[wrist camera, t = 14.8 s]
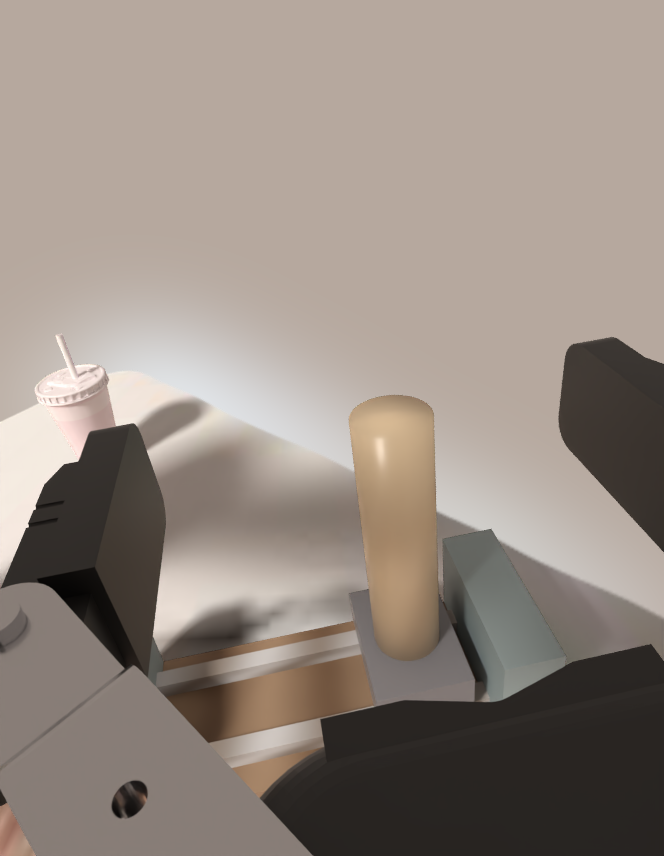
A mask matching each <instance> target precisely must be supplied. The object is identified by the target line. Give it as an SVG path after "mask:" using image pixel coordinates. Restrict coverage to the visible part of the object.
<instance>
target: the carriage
mask: <svg viewBox="0 0 664 856" xmlns="http://www.w3.org/2000/svg"><path fill="white" fill-rule="evenodd" d="M349 427H350V435H351V443H352V452H353V460H354V468H355V477H356V486H357V494H358V503H359V511H360V519H361V528H362V536H363V545H364V553H365V561H366V570H367V578H368V587H369V589H367V590H363V591H358V592H353V593H349V595H350V602H351V608H352V615H353V621H354V626H355V630H356V634H357V638H358V642H359V646H360V650H361V654H362V659H363V663H364V667H365V671H366V675H367V679H368V683H369V687H370V692H371V696H372V700H373V704H374V707H376V706H380V705H385V704H389V703H393V702H398V701H402V700H423V701H466V702H474V695H475V679H474V676H473V674H472V671H471V669H470V667H469V664H468V662H467V659H466V657H465V655H464V652H463V650H462V648H461V645H460V643H459V640H458V638H457V636H456V633H455V631H454V628H453V626H452V624H451V621H450V619H449V616H448V614H447V612H446V609H445V607H444V604H443V602H442V600H441V597H440V595H439V592H438V557H437V520H436V484H435V483H436V482H435V444H434V413H433V410H432V408H431V407H430V406H429V405H428V404H427V403H425V402H424V401H422V400H420V399H417V398H414V397H410V396H403V395H388V396H381V397H376V398H373V399H370V400H367V401H365V402H363V403H361V404H359V405H358V406H357V407H355V408H354V409H353V411H352V412H351V414H350V416H349Z"/></svg>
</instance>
